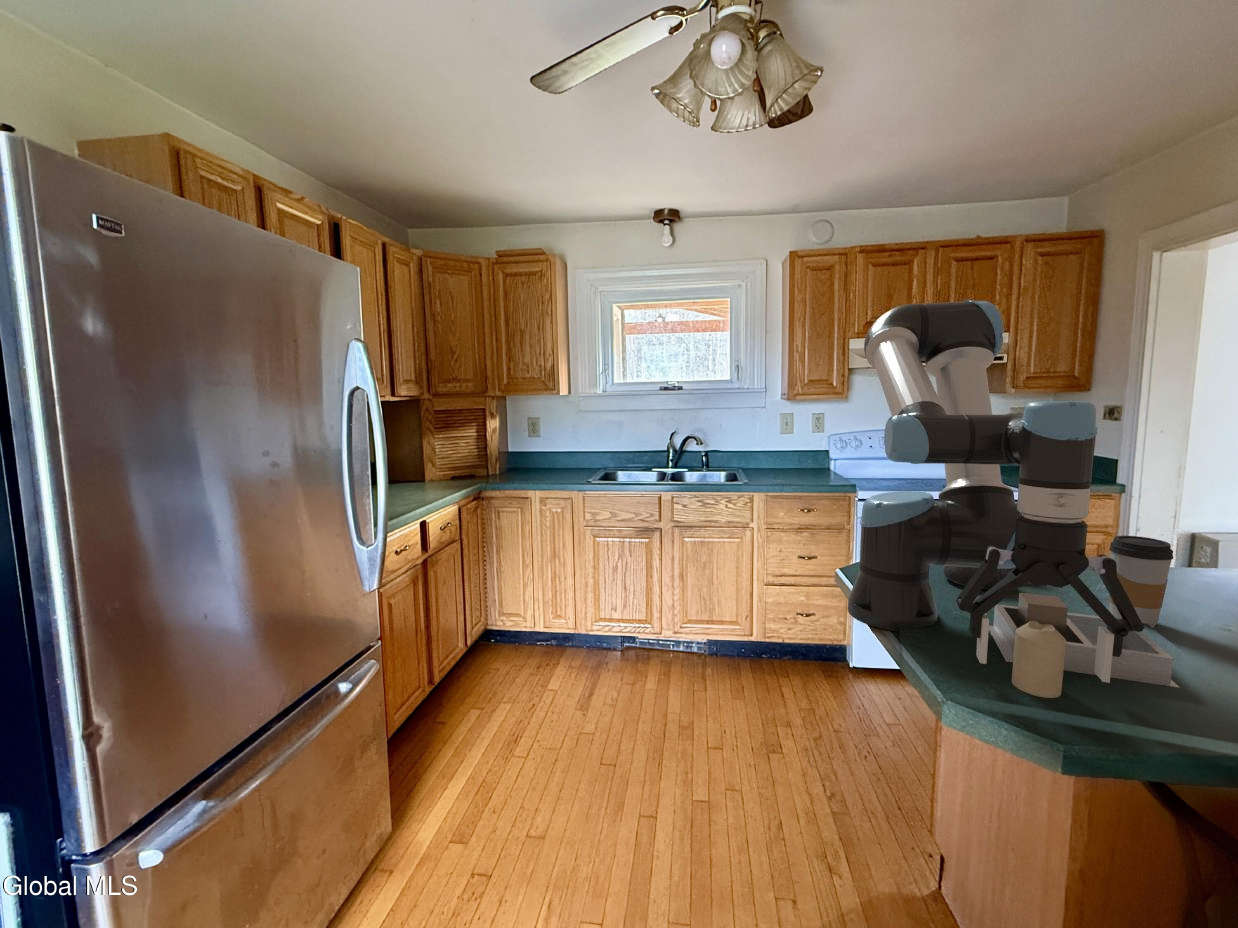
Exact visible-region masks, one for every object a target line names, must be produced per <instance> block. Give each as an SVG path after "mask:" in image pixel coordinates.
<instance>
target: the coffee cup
mask: <svg viewBox="0 0 1238 928" xmlns="http://www.w3.org/2000/svg"><path fill="white" fill-rule="evenodd" d="M1109 545H1110V546H1109V548H1108V550H1109V551H1110V553H1109V554H1110V555H1109V557H1110V558H1112V559H1113V560H1115V561H1116V564H1117V577H1118V579H1119V581H1120V582H1121V584H1122V586H1123V588H1124V590H1125V592H1126V594H1127V596H1128V597H1129V599H1130V601H1131V603H1132V605H1133V607H1134V609H1135V611H1136V612H1137V614H1138V616H1139V618H1140V620H1141V622H1142V624H1146V625H1147V626H1149V627H1151V629H1153V628H1154V627H1155V626H1156V625H1158V623H1159V619H1160V615H1161V609H1162V607H1163V605H1164V603H1163V602H1164V599H1165V594H1166V589H1167V585H1168V577H1169V573H1170V567H1171V562H1172V560H1173V559H1174V550H1173V549H1172V547H1171V543H1169V542H1167V541H1165V540H1161V539H1156V538H1152V537H1146V536H1136V535H1115V536H1114V538H1113V541H1111V542H1110V543H1109ZM1108 600H1109V609H1108V610H1109V611H1110V613H1111V614H1112V615H1113V616H1114V617H1115V618H1118V619H1122V617H1121V615H1120V613H1119V611H1118V609H1117V608H1116V606H1115V604H1114V602H1113V600H1112V598H1111V596H1110V594H1109V593H1108Z"/></svg>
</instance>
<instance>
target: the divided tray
mask: <svg viewBox="0 0 1238 928" xmlns="http://www.w3.org/2000/svg"><path fill="white" fill-rule="evenodd" d="M993 613H994V614H993V625H989V631H988V632H989V633H990V634H991V637H992V638H993V640H994V642H995V644H996V646H997V648H998V649H999V650H1000V653H1001V654H1002V657H1003V659H1004V660H1005V662H1007V663H1012V664H1013V658H1014V646H1015V634H1016V629H1018V628H1017V615H1018V606H1015V605H1004V604H999V603H998V604H997V605H996V606H994V611H993ZM1115 618H1116V619H1119V618H1118V617H1115ZM1098 626H1101V627H1106V628H1107V625H1106V624H1105V623H1104V622H1103V620H1102V619H1101V618H1100V617H1099V616H1098V615H1092V614H1091V615H1090V614H1082V613H1072V612H1067V623H1066V633H1065V639H1066V648H1065V659H1064V669H1063V671H1067V672H1073V673H1079V674H1085V675H1086V674H1087V675H1093V676H1097V675H1096V674H1095V673H1094V670H1095V659H1096V648H1097V637H1098ZM1174 661H1175V660H1174V658H1173V656H1171V654H1169V653H1168V652H1166V651H1165V650H1164V649H1163V648H1161V646H1159V645H1158V644H1157V643H1156V642H1155V641H1154V640H1152V639H1151V638H1150V637H1149V636H1148V635H1147V634H1145V633H1144V632H1143V631H1141V632H1136V631H1130V632H1128V635H1127V636H1125V637H1123V644H1122V654H1121V655H1120V657H1114V656H1112V664H1111V675H1110V678H1113V679H1119V680H1126V681H1133V682H1139V683H1145V684H1153V685H1158V686H1159V685H1160V686H1167V687H1171V688H1172V687H1173V688H1181V687H1180V686H1179V685H1178V684H1177V683H1176V682H1175V681H1173V680H1172V673H1173V667H1174Z"/></svg>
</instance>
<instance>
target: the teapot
mask: <svg viewBox="0 0 1238 928" xmlns="http://www.w3.org/2000/svg"><path fill="white" fill-rule="evenodd" d="M977 569H978V568H976V567H959V566H944V568H943V575H944V577H945V578H946V579H948V580H949V581H951V582H953V583H955V584H958V585H960V586H963V587H965V586H966V585H967V584H968V582H969V581H970V579H971V578H972V576H973V575H974V574H975V572H976V571H977ZM1012 569H1013V568H1010V569H1001V568H997V569H996V571H995V572H994V574H993V575H992V577H991V578H990V579H989V581H988V582H987V584H986V585H985V586H984V588H983V589H982V590H983V591H984V590H985V591H986V590H990V589H991V588H992V587H993V586H995V585H996V584H997V583H998V582H1000V581H1001V580H1002V579H1003V578H1004V577H1006V576H1007V574H1008V573H1009V572H1010V571H1011V570H1012Z"/></svg>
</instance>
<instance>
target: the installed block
mask: <svg viewBox="0 0 1238 928" xmlns="http://www.w3.org/2000/svg"><path fill="white" fill-rule="evenodd" d="M1017 605H1018V606H1017V607H1018V615H1017V628H1019V627H1021V626H1023V625H1025V624H1027V623H1028V622H1030V621H1036V622H1038V623H1040V624H1042V625H1052V626H1053V627H1054V628H1055V629H1056V630H1057V631H1058V632H1059V633H1060V634H1061V635H1062V636H1063V637H1064V638H1065V633H1066V623H1067V613H1069V608H1068V607H1067V606H1066V605H1065V603H1064V602H1063V601H1062V600H1061V599H1060V598H1059V597H1058V596H1054V595H1046V594H1045V595H1044V594H1037V593H1036V594H1035V593H1027V592H1019V593H1018V603H1017Z"/></svg>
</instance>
